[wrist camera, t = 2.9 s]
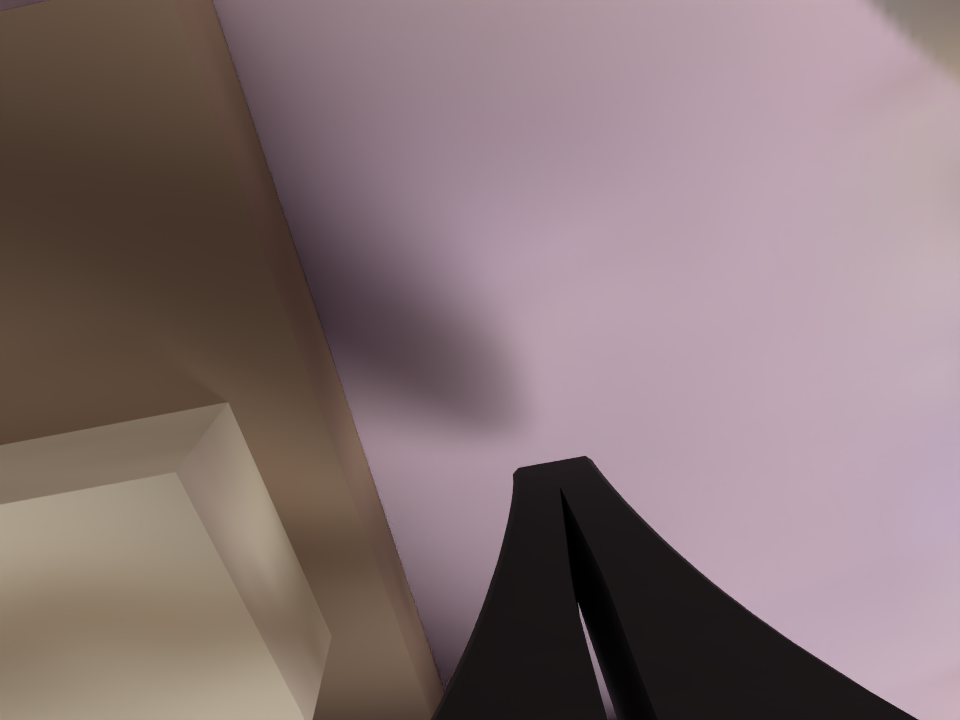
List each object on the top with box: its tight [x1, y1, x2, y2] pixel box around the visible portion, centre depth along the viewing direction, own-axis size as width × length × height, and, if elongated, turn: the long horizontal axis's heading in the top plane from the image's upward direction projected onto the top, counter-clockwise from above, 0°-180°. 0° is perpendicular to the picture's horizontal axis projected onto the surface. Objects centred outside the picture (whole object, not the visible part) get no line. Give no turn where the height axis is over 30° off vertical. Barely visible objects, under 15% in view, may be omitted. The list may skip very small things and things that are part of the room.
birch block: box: [0, 402, 332, 720], centre depth 10 cm, size 6×10×2 cm, turn 101°
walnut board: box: [0, 0, 445, 720], centre depth 12 cm, size 18×13×2 cm
